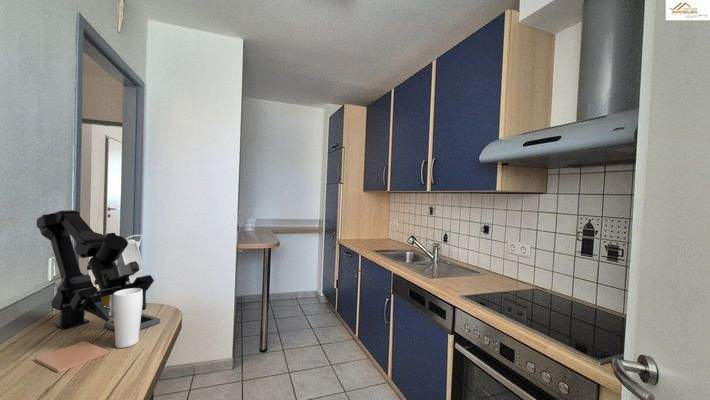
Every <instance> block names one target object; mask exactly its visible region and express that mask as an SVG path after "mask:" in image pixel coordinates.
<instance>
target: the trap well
mask: <svg viewBox="0 0 710 400" xmlns="http://www.w3.org/2000/svg"><path fill="white" fill-rule="evenodd" d="M159 324H161V318H159V317H157V316H154V315H148V314H145V313H142V314H141V322H140V331H143V330H145V329H149V328H151V327H154V326H156V325H159ZM103 328H104V329H107V330H109V331H111V332H114V333H115V329H114V319H113V320H109V321H108V322H106V321H105V322H104V323H103Z"/></svg>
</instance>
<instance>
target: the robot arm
mask: <svg viewBox="0 0 710 400" xmlns="http://www.w3.org/2000/svg"><path fill="white" fill-rule="evenodd" d="M36 227H37V228H38V230H39V231H40V234H41V235H42V236H43V237H45V239H47V240H49V241H50V243H51V247H52V251H53V254H54V258H55V261H56V265H57V269H58V272H59V275H60V278H61V280H60V281H59V284H58V286H57V288H56V294H55V295H54V296H53V299H51V307H52V309H54V310H57V311H60V314H59V318H60V319H59V320H60V321H59V322H58V323H55V324H54V327H56V328H59V329H61V330H67V329H72V328H74V327H78V326H82V325H84V324H87V323H88V324H89V323H90V322H91V321H90V319H86V318H85V311H86V312H88V313H90V314H92V315H94V316H96V317H98V318H99V319H101V320H103V321H105V322H109V321H111V320H110V319H111V317H109V312H108V311H106V309H105V307H104V305H103V303H102V301H101V297H104V296H108V295H112V294H114V293H115V292H117V291H120V290H124V289H130V288H140V289H142V290H143V305H142V311H145V310H146V309H147V300H146V297H147V295H146V294H147V291H148V290H149V289H150V287H151V286H152V284H153V283H154V281H155V279H154V277H153V276H152V275H150V274H147V275H146V274H145V275H142V276H141V277H137V278H136V279H135V281H134V282H133V283H130V284H126V282H127V281H129V279H130V278H129V276H131V275H134V273H136V272H138V271H139V269H140V268H139V265H138V263H137V262H136V261H134V262H130V263H128V264H127V265H121V266H117V261H118V259H119V258H120V256H121V255H122V253H123V252H124V250H125V249H126V247H127V245H128V241H127V240H128V239H127V240H126V237H125V238H124V237H123V236H120V235H117V234H116V232H108V233H106V235H104V234H103V233H99V232H96V231H94V230H93V229H92V228H91V227H90V226H89V224H87V222H86V221H85V220H84V219H83V217H82V216H81V215H80V212H79V211H78V210H76V209H75V210H74V209H73V210H72V209H71V210H60V211H56V212H52V213H48V214H47V213H46V214H45V213H43V214H42V215H41V216H40V217H38V218H37V220H36ZM71 237H72V238H73V240H74V241H75V243H76V244H75V247H74V245H73V241H72V239H71ZM76 254H77V255H78V256H79V257H80V258H81V259H85V258H90V259H89V261H88V262H87V265H86V270H87V271H91V272H92V275H93V277H94V279H95V280H94V281H93V282H92V278H91V275H90V274H84V273H82V271H81V269H80V265H79V261H78V258H77V255H76ZM94 285H95V286H94ZM97 285H98V287H97ZM99 289H100V290H99Z"/></svg>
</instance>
